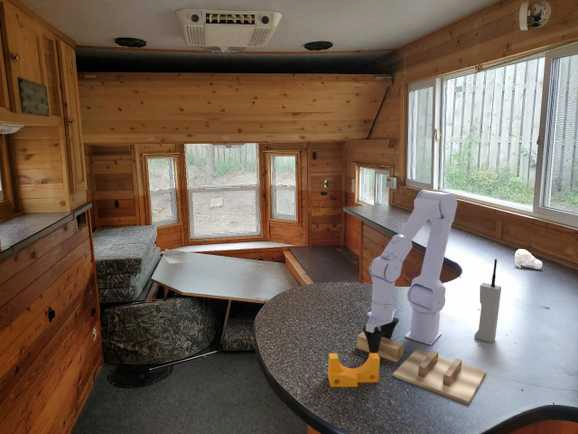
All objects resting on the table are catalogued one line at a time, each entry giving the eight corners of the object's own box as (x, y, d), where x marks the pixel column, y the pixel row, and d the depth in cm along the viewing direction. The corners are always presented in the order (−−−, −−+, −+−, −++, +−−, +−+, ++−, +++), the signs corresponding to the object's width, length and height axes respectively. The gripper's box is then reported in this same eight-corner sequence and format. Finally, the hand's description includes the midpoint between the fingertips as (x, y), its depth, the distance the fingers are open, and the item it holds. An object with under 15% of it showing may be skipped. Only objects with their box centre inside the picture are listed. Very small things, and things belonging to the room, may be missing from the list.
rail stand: (416, 351, 117) (417, 340, 116) (485, 374, 106) (487, 362, 105) (392, 376, 104) (393, 363, 103) (468, 404, 93) (469, 391, 93)
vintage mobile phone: (477, 334, 128) (486, 255, 124) (495, 339, 125) (504, 259, 121) (474, 338, 125) (482, 258, 121) (491, 343, 122) (501, 261, 118)
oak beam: (363, 343, 121) (364, 330, 120) (402, 357, 114) (403, 343, 113) (356, 348, 118) (357, 335, 117) (396, 363, 111) (397, 349, 110)
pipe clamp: (330, 387, 99) (331, 362, 98) (327, 377, 103) (328, 353, 102) (380, 387, 100) (381, 362, 99) (375, 376, 104) (377, 353, 103)
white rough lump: (517, 247, 203) (545, 253, 197) (513, 263, 205) (541, 270, 199) (515, 249, 198) (544, 256, 192) (511, 266, 200) (539, 273, 194)
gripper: (380, 290, 121) (377, 333, 124) (356, 305, 110) (354, 352, 112) (403, 296, 117) (400, 341, 119) (381, 312, 106) (378, 361, 108)
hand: (379, 347), depth 116 cm, fingers open, 7 cm apart
